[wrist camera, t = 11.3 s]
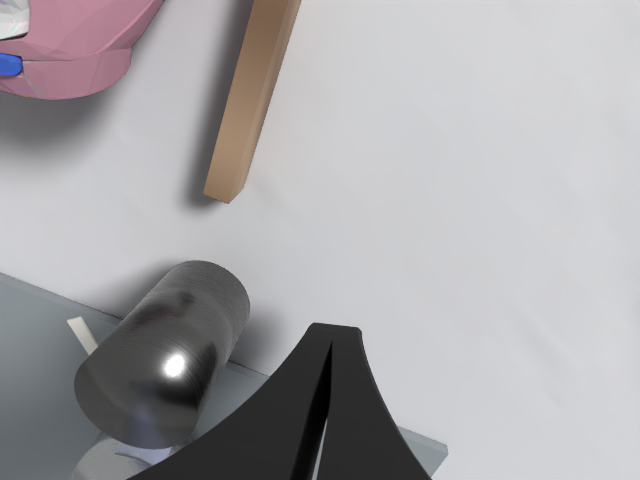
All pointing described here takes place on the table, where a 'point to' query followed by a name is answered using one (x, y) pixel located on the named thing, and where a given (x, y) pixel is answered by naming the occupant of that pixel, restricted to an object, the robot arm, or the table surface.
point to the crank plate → (59, 396)
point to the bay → (250, 95)
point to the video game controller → (68, 44)
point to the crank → (159, 370)
